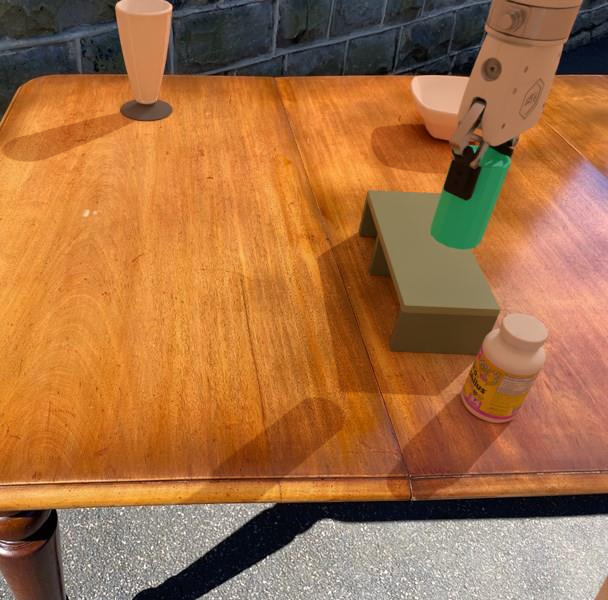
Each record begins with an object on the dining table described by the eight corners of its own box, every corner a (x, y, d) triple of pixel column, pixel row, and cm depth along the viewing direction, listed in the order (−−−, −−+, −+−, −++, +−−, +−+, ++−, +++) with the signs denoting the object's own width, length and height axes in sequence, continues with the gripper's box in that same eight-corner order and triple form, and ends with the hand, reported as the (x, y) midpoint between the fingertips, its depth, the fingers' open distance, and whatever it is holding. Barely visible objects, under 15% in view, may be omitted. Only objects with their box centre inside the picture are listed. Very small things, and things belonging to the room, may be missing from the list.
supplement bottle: (455, 380, 80) (488, 303, 72) (509, 387, 80) (548, 310, 71) (464, 421, 75) (500, 343, 67) (522, 429, 74) (565, 351, 66)
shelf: (481, 355, 84) (501, 309, 79) (390, 351, 84) (404, 305, 79) (430, 235, 105) (443, 193, 100) (358, 232, 105) (367, 189, 100)
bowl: (488, 116, 143) (501, 79, 137) (513, 159, 127) (528, 119, 122) (396, 109, 144) (404, 72, 138) (409, 151, 128) (419, 111, 123)
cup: (177, 119, 136) (178, 13, 122) (124, 122, 134) (118, 14, 120) (167, 97, 145) (167, -4, 131) (117, 100, 142) (111, -3, 128)
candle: (488, 250, 74) (525, 156, 66) (437, 248, 74) (467, 154, 66) (472, 222, 78) (504, 131, 71) (424, 220, 78) (451, 129, 71)
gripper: (522, 46, 54) (460, 226, 65) (609, 12, 62) (540, 175, 74) (445, 23, 58) (400, 196, 69) (536, -5, 67) (482, 151, 78)
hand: (473, 184), depth 72 cm, fingers closed on candle, 5 cm apart
